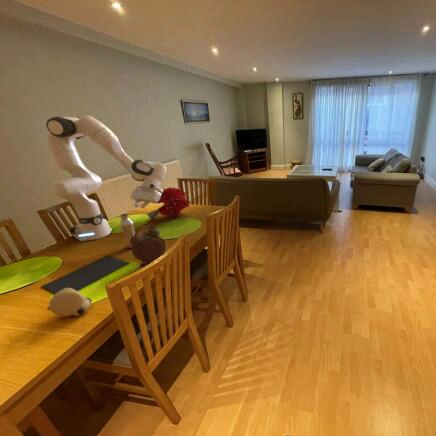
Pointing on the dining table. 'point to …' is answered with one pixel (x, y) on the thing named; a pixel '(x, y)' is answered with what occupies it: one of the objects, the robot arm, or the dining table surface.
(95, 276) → the mat
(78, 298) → the beige rounded lump
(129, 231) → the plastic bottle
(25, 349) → the dining table surface
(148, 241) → the alarm clock
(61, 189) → the robot arm
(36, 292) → the dining table surface
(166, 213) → the bouquet
